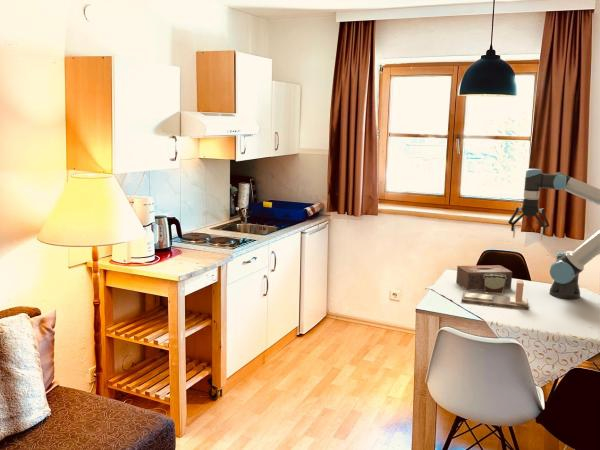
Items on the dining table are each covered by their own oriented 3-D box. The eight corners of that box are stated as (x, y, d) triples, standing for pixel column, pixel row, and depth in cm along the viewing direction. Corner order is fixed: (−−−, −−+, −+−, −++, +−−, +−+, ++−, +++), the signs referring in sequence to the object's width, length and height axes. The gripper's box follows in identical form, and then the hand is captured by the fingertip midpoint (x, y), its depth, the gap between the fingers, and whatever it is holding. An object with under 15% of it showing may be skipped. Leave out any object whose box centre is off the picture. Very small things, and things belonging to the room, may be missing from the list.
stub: (526, 300, 307) (528, 280, 305) (527, 305, 299) (529, 284, 297) (509, 298, 309) (511, 278, 307) (510, 303, 301) (512, 282, 300)
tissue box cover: (466, 290, 329) (468, 272, 327) (456, 282, 343) (457, 265, 341) (510, 289, 333) (512, 271, 331) (498, 282, 347) (500, 265, 345)
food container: (502, 290, 329) (504, 272, 327) (505, 293, 323) (507, 275, 321) (479, 289, 330) (481, 271, 328) (482, 292, 324) (483, 274, 322)
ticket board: (526, 301, 309) (527, 297, 309) (528, 309, 296) (528, 305, 296) (462, 294, 319) (463, 290, 319) (461, 302, 306) (461, 297, 305)
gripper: (556, 199, 313) (552, 239, 317) (505, 196, 320) (502, 235, 324) (557, 201, 306) (553, 241, 309) (506, 197, 313) (502, 237, 317)
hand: (527, 238), depth 317 cm, fingers open, 13 cm apart
